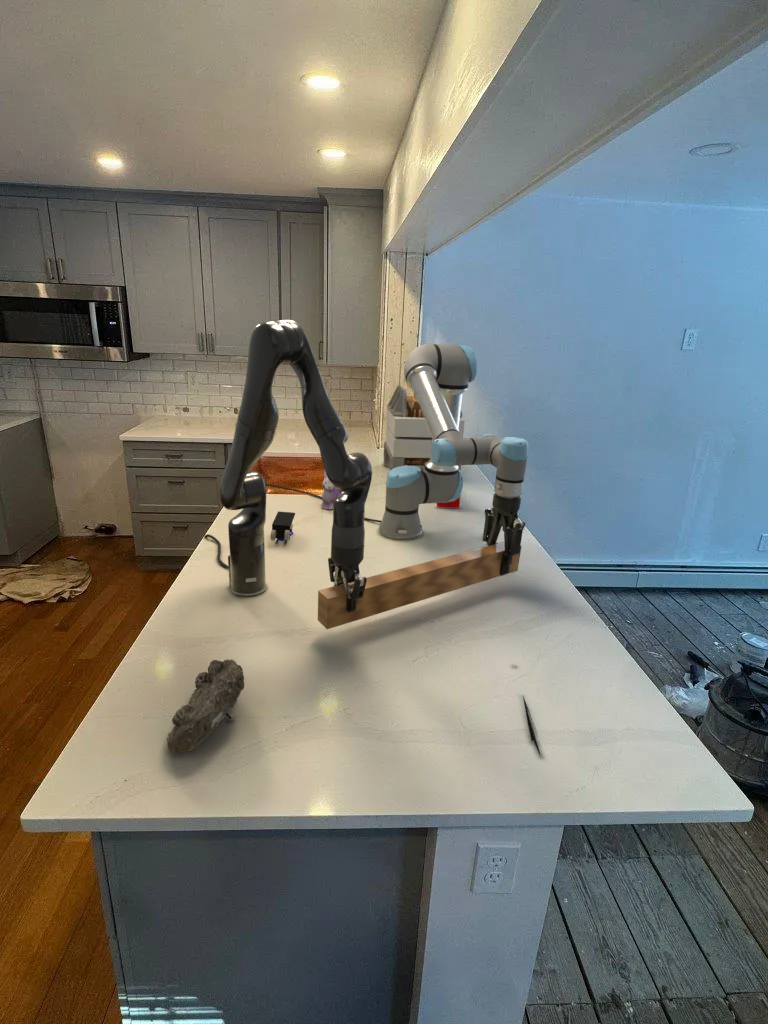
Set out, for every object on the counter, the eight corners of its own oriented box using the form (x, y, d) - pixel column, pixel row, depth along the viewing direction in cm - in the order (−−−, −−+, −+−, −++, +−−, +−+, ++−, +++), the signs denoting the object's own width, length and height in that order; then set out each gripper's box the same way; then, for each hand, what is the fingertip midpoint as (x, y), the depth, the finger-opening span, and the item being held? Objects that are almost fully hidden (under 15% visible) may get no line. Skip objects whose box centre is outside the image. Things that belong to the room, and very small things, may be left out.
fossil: (192, 660, 117) (244, 628, 112) (224, 691, 120) (276, 661, 115) (142, 746, 98) (202, 712, 93) (182, 779, 101) (242, 748, 96)
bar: (506, 564, 169) (509, 539, 167) (517, 570, 166) (521, 545, 163) (317, 620, 135) (318, 590, 132) (327, 629, 131) (327, 599, 128)
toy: (454, 466, 253) (465, 475, 223) (452, 495, 255) (463, 509, 226) (427, 465, 252) (435, 474, 223) (425, 494, 255) (433, 508, 226)
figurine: (325, 511, 218) (326, 473, 213) (316, 503, 226) (316, 467, 221) (348, 508, 222) (349, 471, 217) (337, 500, 231) (338, 465, 225)
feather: (514, 670, 128) (520, 664, 128) (540, 759, 101) (547, 752, 101) (508, 666, 128) (514, 660, 127) (532, 755, 101) (539, 747, 101)
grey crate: (382, 463, 289) (386, 382, 275) (445, 464, 293) (451, 384, 279) (390, 482, 257) (394, 392, 243) (460, 483, 261) (468, 394, 247)
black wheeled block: (290, 551, 185) (296, 529, 198) (289, 530, 182) (295, 510, 195) (270, 550, 185) (277, 528, 198) (268, 530, 181) (276, 509, 195)
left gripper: (318, 532, 132) (317, 596, 138) (350, 555, 121) (347, 624, 128) (345, 526, 136) (343, 589, 143) (379, 548, 126) (375, 615, 132)
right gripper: (475, 486, 160) (466, 561, 169) (522, 506, 147) (510, 586, 155) (494, 483, 164) (485, 556, 173) (541, 502, 151) (529, 579, 159)
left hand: (345, 605), depth 135 cm, fingers closed on bar, 4 cm apart
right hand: (497, 570), depth 164 cm, fingers closed on bar, 5 cm apart
